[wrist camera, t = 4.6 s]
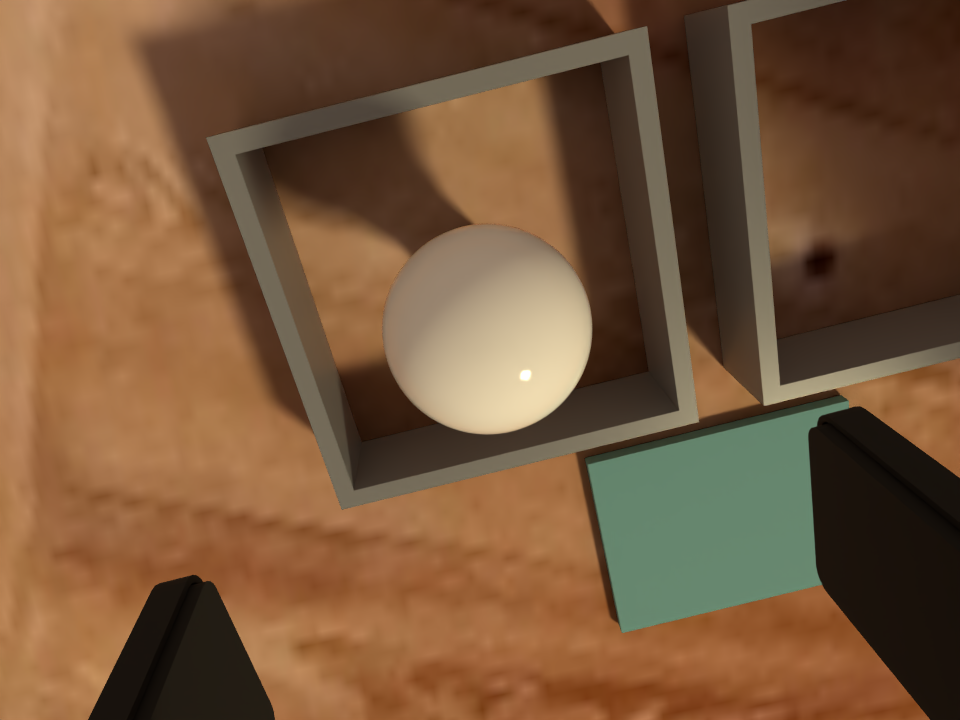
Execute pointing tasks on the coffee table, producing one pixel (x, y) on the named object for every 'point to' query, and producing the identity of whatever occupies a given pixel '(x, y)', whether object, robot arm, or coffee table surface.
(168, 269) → the coffee table surface
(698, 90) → the box
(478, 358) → the lightbulb
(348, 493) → the box
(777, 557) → the mat
